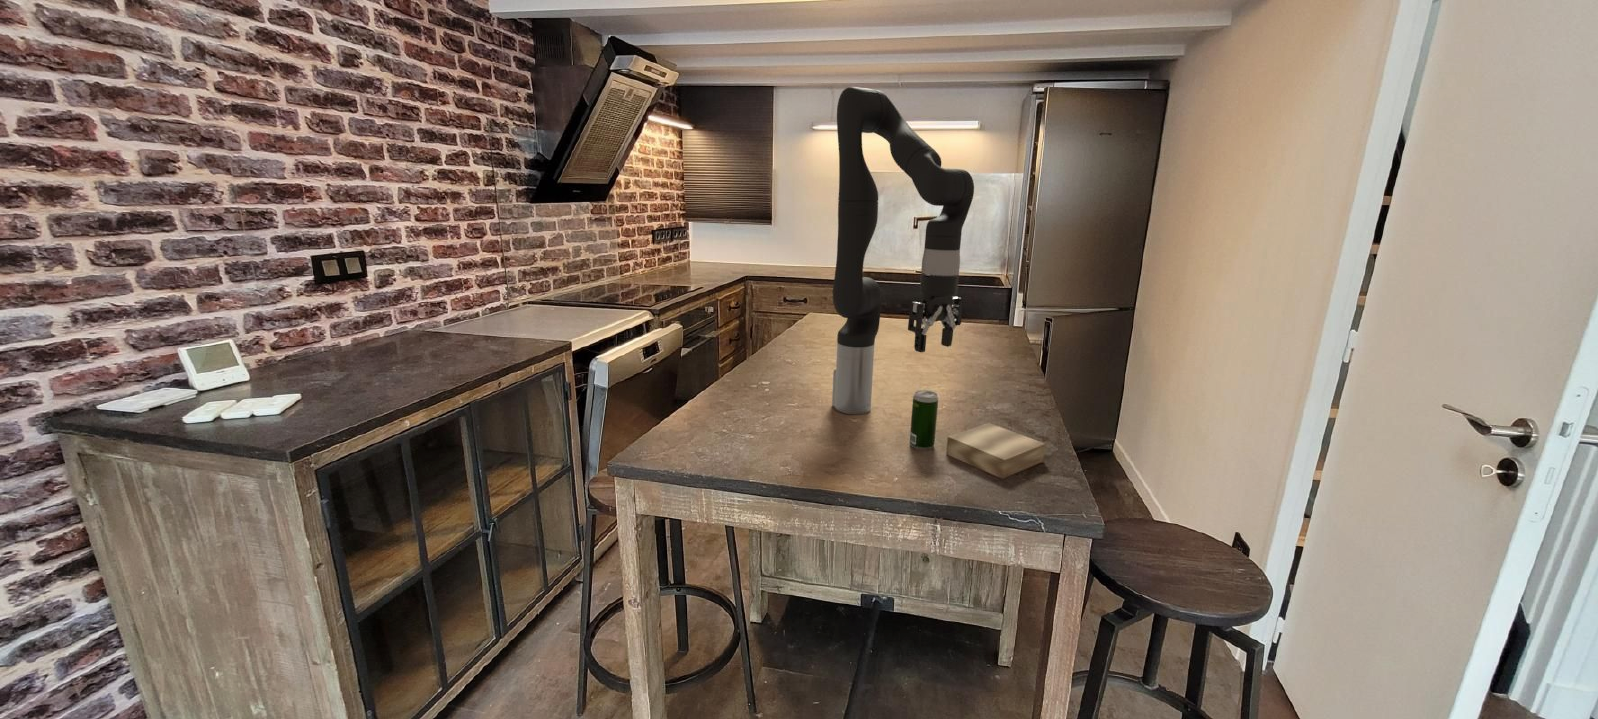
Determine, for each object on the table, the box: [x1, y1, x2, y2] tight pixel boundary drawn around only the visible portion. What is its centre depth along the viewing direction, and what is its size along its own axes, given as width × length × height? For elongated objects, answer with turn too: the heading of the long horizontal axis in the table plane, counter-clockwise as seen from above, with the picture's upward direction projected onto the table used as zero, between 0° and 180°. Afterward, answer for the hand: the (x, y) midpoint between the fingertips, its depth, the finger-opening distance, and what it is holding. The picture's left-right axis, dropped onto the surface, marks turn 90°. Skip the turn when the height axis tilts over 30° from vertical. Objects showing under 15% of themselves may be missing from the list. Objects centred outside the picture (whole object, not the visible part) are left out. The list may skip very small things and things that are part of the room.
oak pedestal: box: [945, 422, 1046, 479], centre depth 129 cm, size 14×14×4 cm
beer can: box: [909, 389, 939, 451], centre depth 133 cm, size 5×5×12 cm
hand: (933, 348), depth 129 cm, fingers open, 8 cm apart
